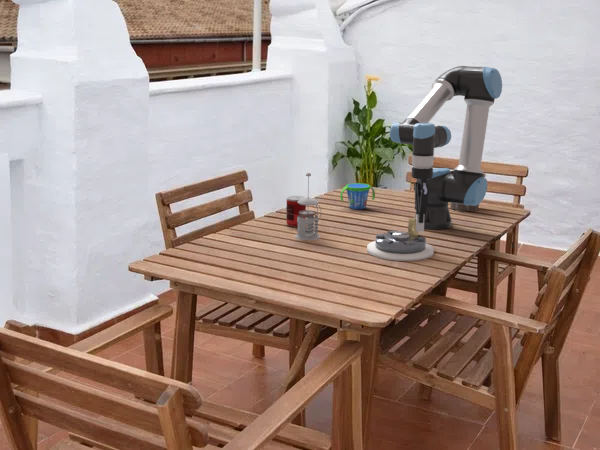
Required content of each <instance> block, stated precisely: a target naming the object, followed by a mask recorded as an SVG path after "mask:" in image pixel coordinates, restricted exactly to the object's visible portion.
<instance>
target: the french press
mask: <svg viewBox="0 0 600 450" xmlns="http://www.w3.org/2000/svg"><path fill="white" fill-rule="evenodd" d="M305 176H306V177H307V181H308V182H307V197H305V198H303V199H300V200H299V201H298V204H300V205H306V206H307V207H309V206H312V207H313V208H314V209H317V210H312V209H311V210H310V209H306V210H302V211H299V212H298V213H299V214H301V215H298V226H296V227H297V230H296V231H297V233H296V234H295V236H294V238H295V239H297V240H300V241H314V240H315V241H316V240H319V239H320V238H321V236H320V235H319V234H318V233H319V232H318V231H319V230H318V229H319V221H320V219H321V216H322V212H320V214H319V209H320V211H322V207H321V206H320V205H319V201H318V200H317V199H315V198H313V197H312V198H311V197H310V196H309V194H310V193H309V191H310V190H309V189H310V187H309V186H310V185H309V184H310V182H309V181H310V177H311V176H312V174H311V173H310V172H307V173H306V175H305ZM318 208H319V209H318ZM319 215H320V216H319ZM301 217H306V219H305V218H301Z"/></svg>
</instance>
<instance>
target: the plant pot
mask: <svg viewBox="0 0 600 450" xmlns="http://www.w3.org/2000/svg"><path fill="white" fill-rule="evenodd" d="M450 171H451V172H450V173H452V174H453V172H454V169H453V170H450ZM486 176H487V175H486V173H484V172H483V177H484V178H486ZM479 206H480V204H478V205H476V206H471V205H468V206H467V205H463V204H456V203H450V208H451V209H452V210H454V211H458V212H467V211H468V212H476V211H478V210H479V208H480V207H479Z"/></svg>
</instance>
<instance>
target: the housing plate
mask: <svg viewBox="0 0 600 450" xmlns="http://www.w3.org/2000/svg"><path fill="white" fill-rule="evenodd" d="M375 243H376V240H374V241H370V242H369V243H368V244H367V245H366V252H367V253H368V254H369V255H371V256H372V257H375V258H378V259H383V260H388V261H396V262H397V261H398V262H411V261H413V262H414V261H421V260H422V261H423V260H426V259H429V258H431V257H433V256H434V255H435V253H434V252H435V251H434V247H433V246H432V245H430V244H429V243H426V247H425V250H423V251H421V252H417V253H408V254H400V253H390V252H385V251H382V250H379V249H377V248H376V246H375Z"/></svg>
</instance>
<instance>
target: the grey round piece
mask: <svg viewBox="0 0 600 450" xmlns="http://www.w3.org/2000/svg"><path fill="white" fill-rule="evenodd" d="M407 225H408V226H407V227H408V228H407V230H408V231H401V230H400V231H399V230H398V231H397V230H388V231H387V232H384V233H377V234H376V236H375V241H376V243H375V246H376V248H377V249H379V250H382V251H385V252H390V253H400V254H408V253H417V252H421V251H423V250H425V247H426V244H427V240H426V237H425V236H422V235H419V231H416V218H415V217H411V218H408V224H407Z"/></svg>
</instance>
